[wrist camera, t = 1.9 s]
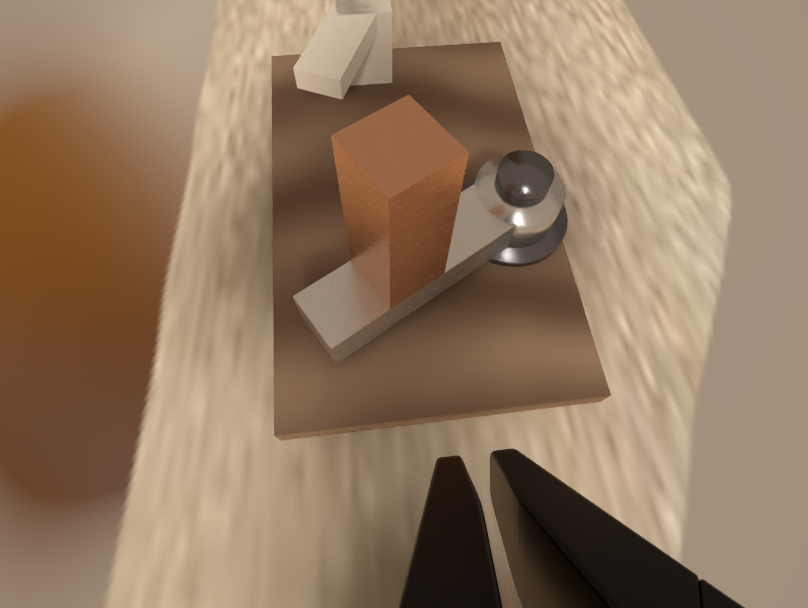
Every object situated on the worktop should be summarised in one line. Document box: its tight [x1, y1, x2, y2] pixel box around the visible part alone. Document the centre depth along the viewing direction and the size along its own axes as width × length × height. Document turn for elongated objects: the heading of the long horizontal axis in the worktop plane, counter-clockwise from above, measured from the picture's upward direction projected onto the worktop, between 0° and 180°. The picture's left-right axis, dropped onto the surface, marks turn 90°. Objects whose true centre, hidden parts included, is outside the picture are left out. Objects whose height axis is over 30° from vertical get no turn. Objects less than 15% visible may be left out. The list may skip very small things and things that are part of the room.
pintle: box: [461, 150, 567, 267], centre depth 24 cm, size 6×6×4 cm
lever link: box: [293, 95, 565, 364], centre depth 20 cm, size 4×14×10 cm, turn 127°
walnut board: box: [272, 42, 611, 440], centre depth 27 cm, size 24×15×1 cm, turn 7°
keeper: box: [293, 0, 392, 99], centre depth 27 cm, size 8×5×4 cm
